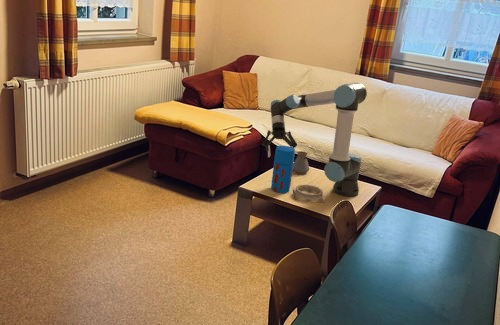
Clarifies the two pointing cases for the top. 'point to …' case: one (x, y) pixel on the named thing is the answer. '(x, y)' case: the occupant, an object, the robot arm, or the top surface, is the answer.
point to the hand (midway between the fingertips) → (280, 156)
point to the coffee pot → (301, 163)
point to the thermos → (282, 169)
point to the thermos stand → (308, 193)
